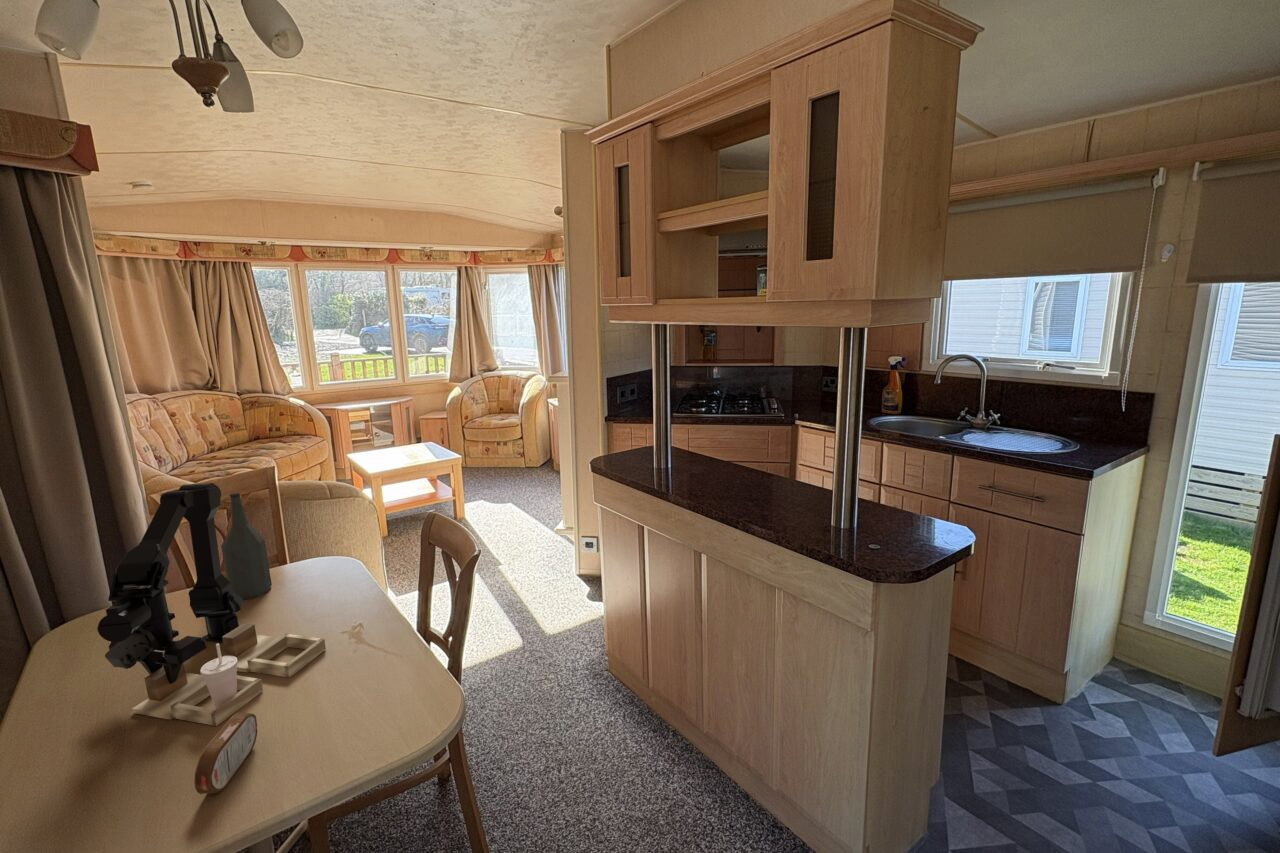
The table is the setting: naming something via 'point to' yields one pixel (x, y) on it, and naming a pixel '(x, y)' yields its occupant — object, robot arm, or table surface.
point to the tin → (226, 753)
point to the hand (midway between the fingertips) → (165, 681)
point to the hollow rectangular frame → (269, 650)
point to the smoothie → (220, 677)
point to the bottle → (245, 555)
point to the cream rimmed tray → (192, 697)
